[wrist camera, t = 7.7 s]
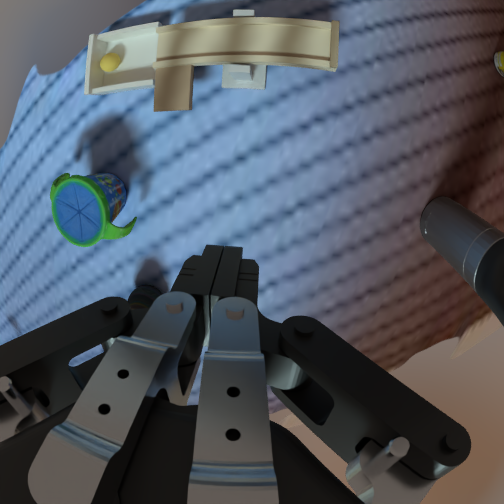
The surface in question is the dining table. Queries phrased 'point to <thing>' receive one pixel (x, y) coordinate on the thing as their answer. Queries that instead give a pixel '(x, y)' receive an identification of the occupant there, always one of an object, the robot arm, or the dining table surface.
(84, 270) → the dining table surface
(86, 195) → the snack cup
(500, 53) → the supplement bottle
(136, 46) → the tray
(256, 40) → the lever
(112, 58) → the ball
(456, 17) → the dining table surface
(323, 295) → the dining table surface
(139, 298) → the mate gourd
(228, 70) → the stand
